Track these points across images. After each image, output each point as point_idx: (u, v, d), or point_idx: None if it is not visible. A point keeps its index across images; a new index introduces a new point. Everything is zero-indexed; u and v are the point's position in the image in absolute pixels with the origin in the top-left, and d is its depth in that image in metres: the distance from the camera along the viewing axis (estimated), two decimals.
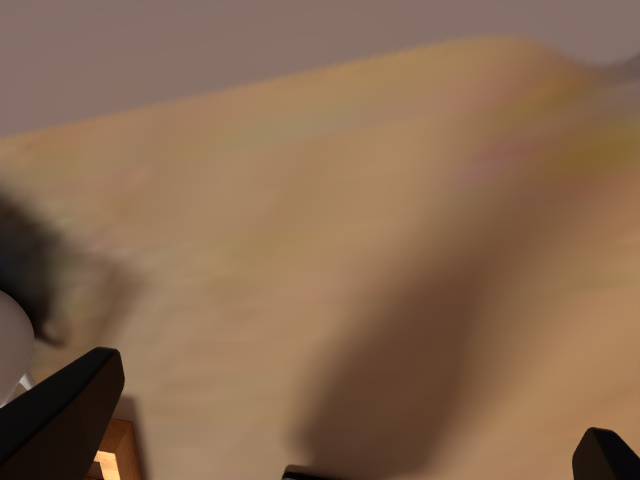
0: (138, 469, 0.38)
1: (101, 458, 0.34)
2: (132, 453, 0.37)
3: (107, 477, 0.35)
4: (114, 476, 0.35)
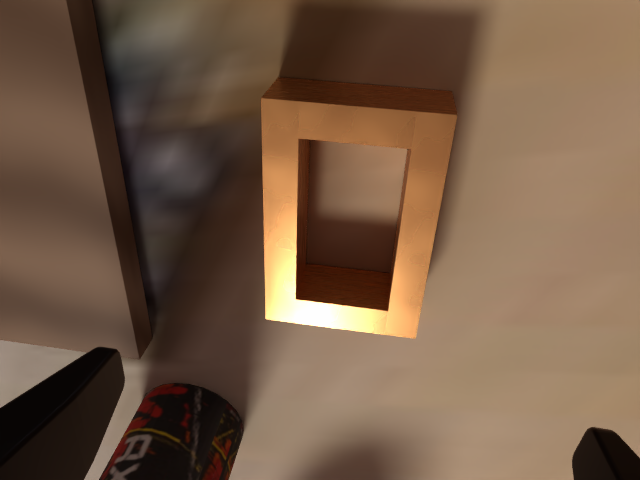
0: None
1: (419, 136, 0.16)
2: None
3: (413, 197, 0.17)
4: (431, 189, 0.17)
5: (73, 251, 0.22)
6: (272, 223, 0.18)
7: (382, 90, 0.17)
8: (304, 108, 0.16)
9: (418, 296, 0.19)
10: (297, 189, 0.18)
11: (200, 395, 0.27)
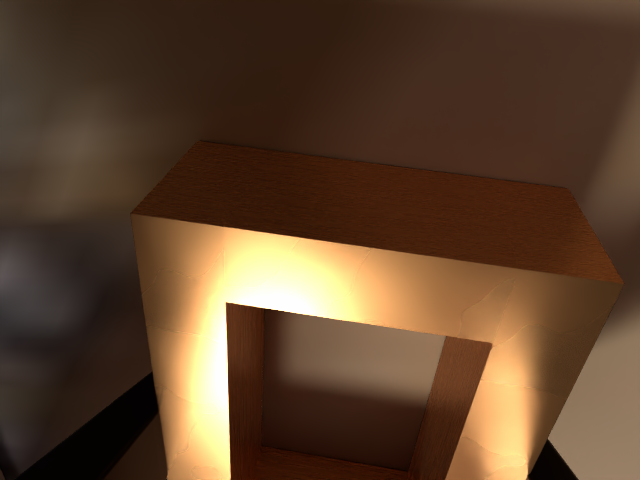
0: None
1: (517, 320, 0.07)
2: None
3: (484, 428, 0.08)
4: (527, 419, 0.07)
5: None
6: (179, 441, 0.09)
7: (420, 184, 0.08)
8: (237, 242, 0.06)
9: None
10: (228, 391, 0.08)
11: None
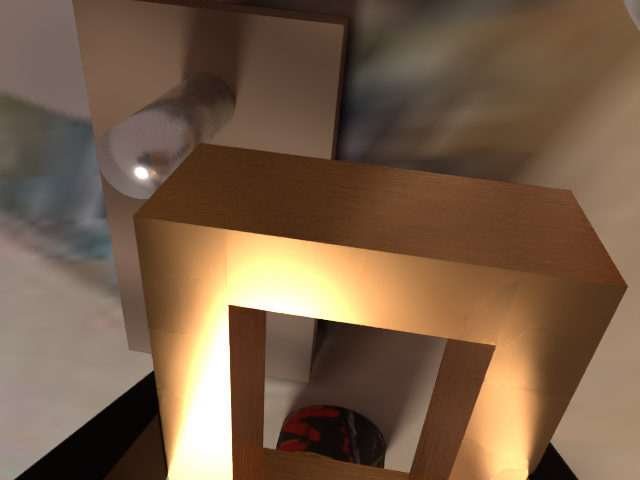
0: None
1: (520, 323, 0.07)
2: None
3: (487, 430, 0.08)
4: (529, 422, 0.07)
5: None
6: (181, 443, 0.09)
7: (423, 187, 0.08)
8: (239, 245, 0.06)
9: None
10: (230, 393, 0.08)
11: (352, 419, 0.27)
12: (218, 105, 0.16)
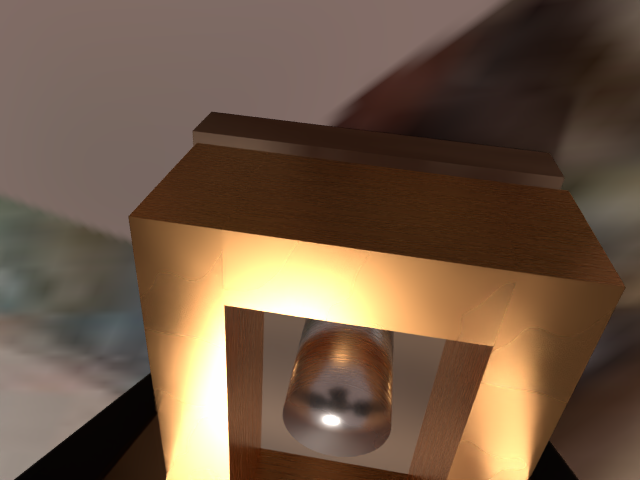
0: None
1: (518, 324, 0.06)
2: None
3: (484, 431, 0.08)
4: (528, 423, 0.07)
5: (408, 435, 0.18)
6: (178, 445, 0.09)
7: (420, 187, 0.08)
8: (235, 245, 0.06)
9: None
10: (227, 394, 0.08)
11: None
12: None
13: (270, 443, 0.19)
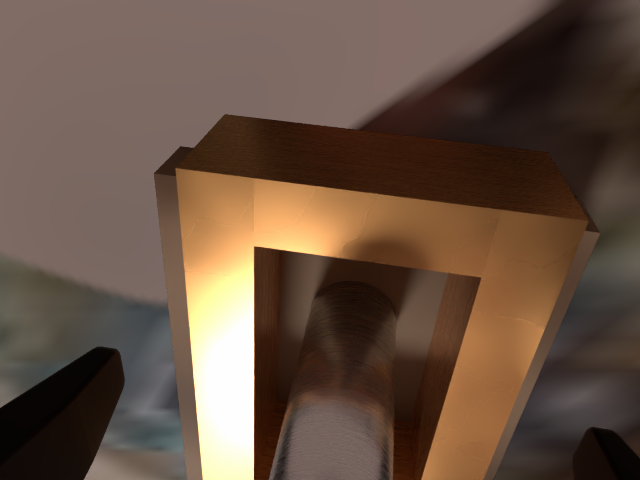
0: None
1: (501, 256, 0.08)
2: None
3: (475, 357, 0.09)
4: (512, 348, 0.09)
5: None
6: (209, 379, 0.10)
7: (419, 148, 0.09)
8: (265, 192, 0.08)
9: None
10: (254, 330, 0.09)
11: None
12: (393, 351, 0.10)
13: None
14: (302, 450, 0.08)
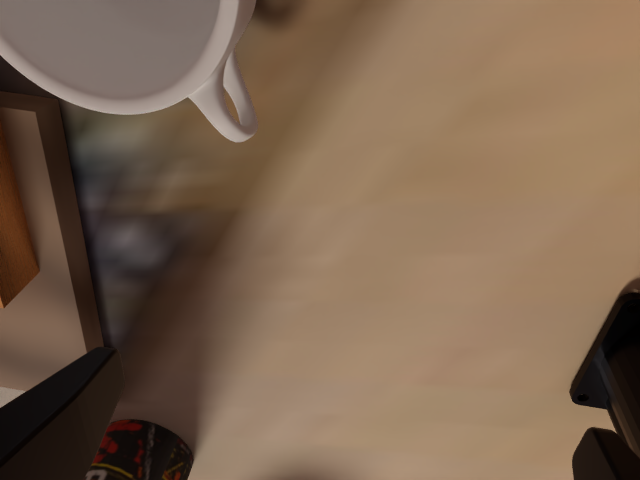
0: (16, 196, 0.20)
1: None
2: None
3: None
4: None
5: (38, 312, 0.24)
6: None
7: None
8: None
9: None
10: None
11: (153, 431, 0.30)
12: None
13: None
14: None
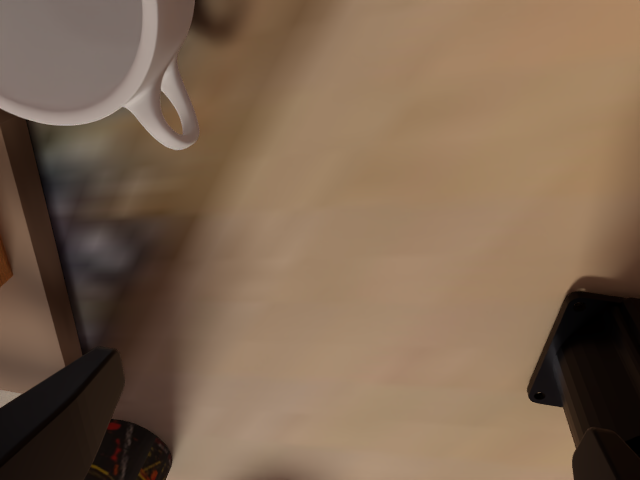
0: None
1: None
2: None
3: None
4: None
5: (14, 314, 0.25)
6: None
7: None
8: None
9: None
10: None
11: (131, 431, 0.31)
12: None
13: None
14: None
